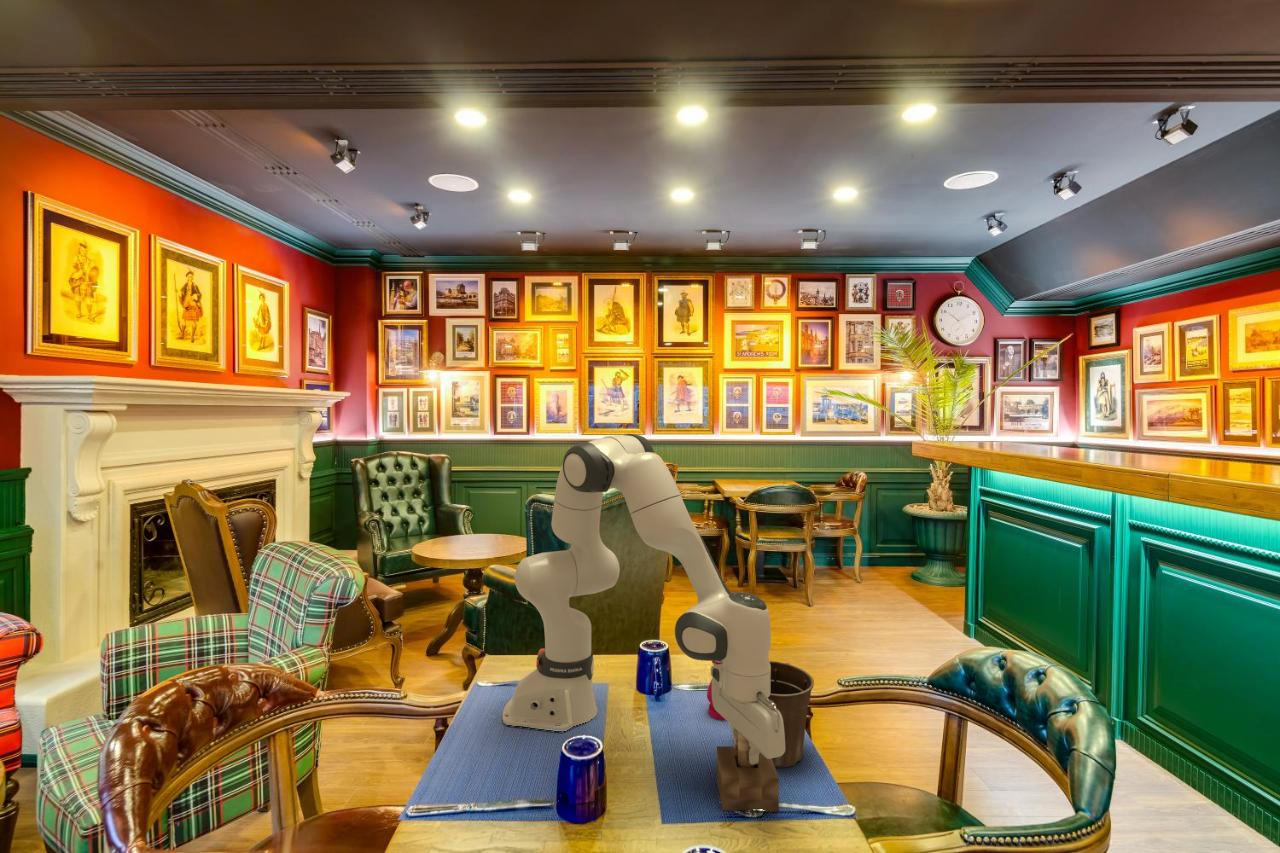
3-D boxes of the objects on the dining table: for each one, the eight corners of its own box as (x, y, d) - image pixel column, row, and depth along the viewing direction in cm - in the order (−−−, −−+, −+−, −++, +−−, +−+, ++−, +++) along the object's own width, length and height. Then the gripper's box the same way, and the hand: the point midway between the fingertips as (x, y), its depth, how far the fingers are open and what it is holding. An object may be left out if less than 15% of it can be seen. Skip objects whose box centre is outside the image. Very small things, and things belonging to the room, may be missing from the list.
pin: (740, 780, 107) (741, 726, 107) (735, 770, 110) (736, 718, 110) (756, 779, 108) (756, 725, 107) (750, 769, 110) (751, 717, 110)
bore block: (722, 810, 104) (722, 777, 104) (716, 776, 114) (716, 746, 114) (778, 811, 104) (778, 778, 104) (767, 777, 114) (767, 747, 114)
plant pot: (827, 772, 116) (827, 691, 116) (749, 778, 113) (749, 696, 113) (794, 729, 132) (794, 658, 132) (725, 734, 130) (725, 662, 129)
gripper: (794, 704, 100) (793, 784, 100) (733, 659, 119) (733, 726, 119) (763, 710, 98) (762, 792, 98) (706, 663, 117) (705, 732, 117)
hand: (746, 755), depth 109 cm, fingers closed on pin, 3 cm apart
